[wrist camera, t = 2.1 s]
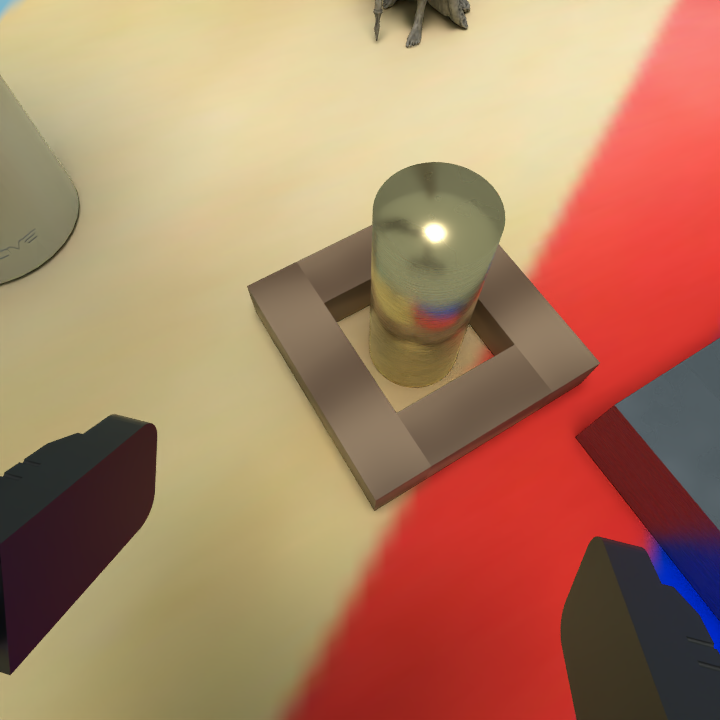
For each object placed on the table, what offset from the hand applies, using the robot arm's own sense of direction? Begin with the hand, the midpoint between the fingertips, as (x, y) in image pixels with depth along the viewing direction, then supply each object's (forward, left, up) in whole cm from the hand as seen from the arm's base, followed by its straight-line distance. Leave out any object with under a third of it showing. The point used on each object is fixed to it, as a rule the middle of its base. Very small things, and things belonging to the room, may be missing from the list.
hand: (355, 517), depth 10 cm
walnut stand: (-8, +8, -15) cm, 19 cm away
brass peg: (-8, +8, -15) cm, 19 cm away
